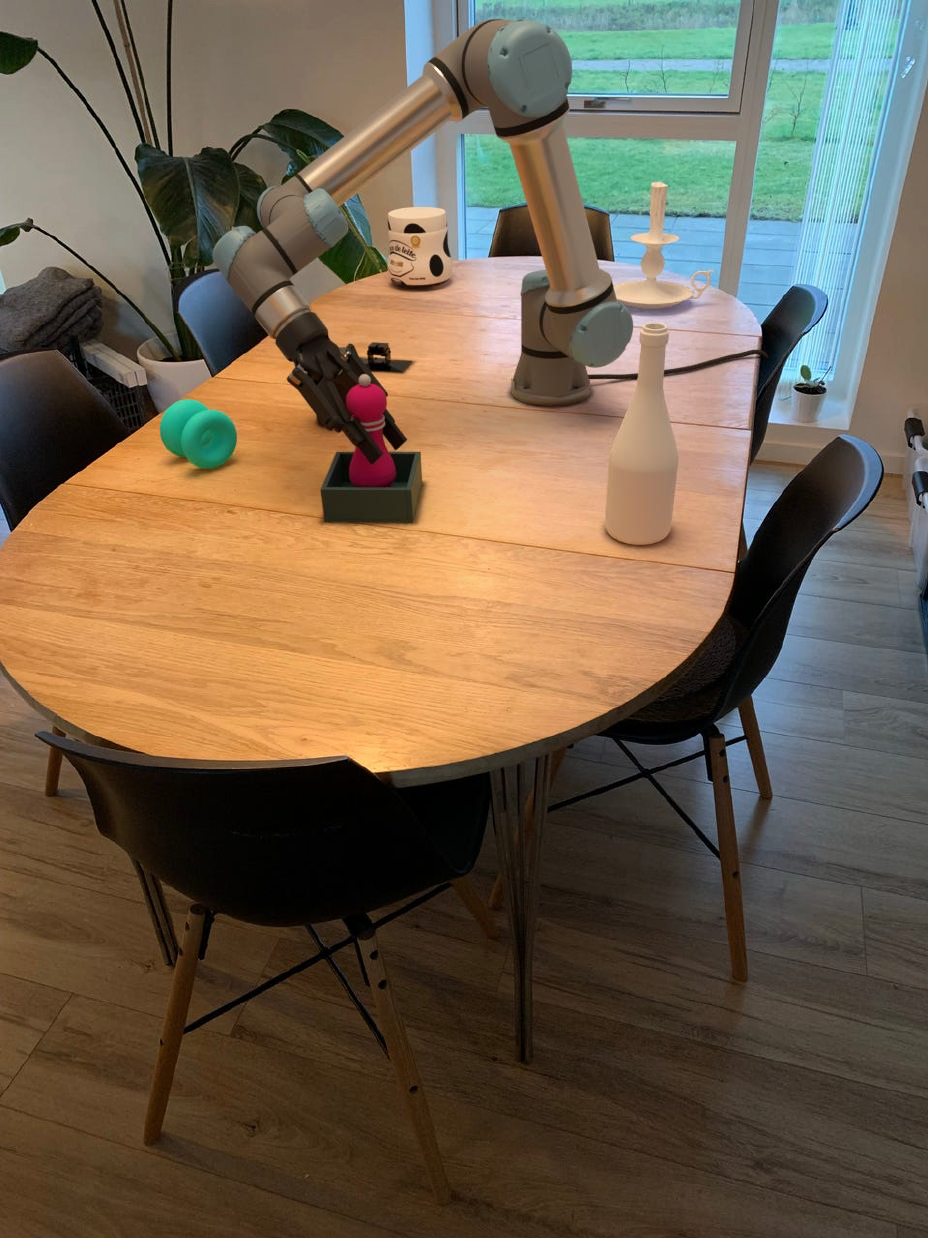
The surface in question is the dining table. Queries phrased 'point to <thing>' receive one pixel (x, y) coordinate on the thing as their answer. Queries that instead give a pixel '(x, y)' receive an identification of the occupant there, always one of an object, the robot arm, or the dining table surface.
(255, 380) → the dining table surface
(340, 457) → the bin
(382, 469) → the pepper mill
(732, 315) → the dining table surface
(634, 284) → the candlestick
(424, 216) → the milk container
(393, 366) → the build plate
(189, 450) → the donuts
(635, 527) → the wine bottle
